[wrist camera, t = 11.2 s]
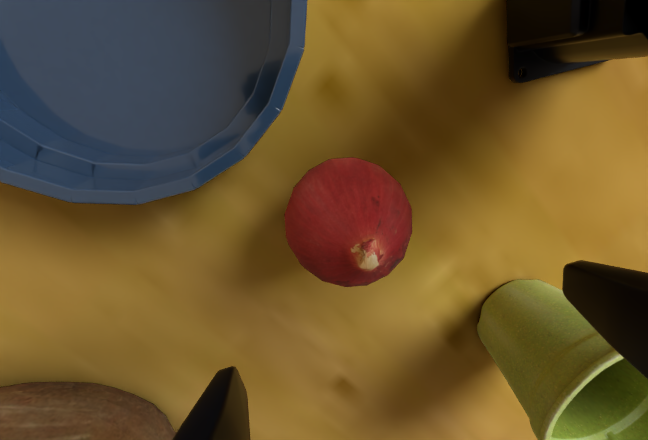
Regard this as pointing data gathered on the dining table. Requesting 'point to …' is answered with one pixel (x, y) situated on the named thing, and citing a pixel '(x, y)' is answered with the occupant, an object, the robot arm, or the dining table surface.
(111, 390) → the ceramic vessel
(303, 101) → the dining table surface
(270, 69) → the bowl
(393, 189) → the onion
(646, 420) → the plant pot
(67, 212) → the dining table surface
